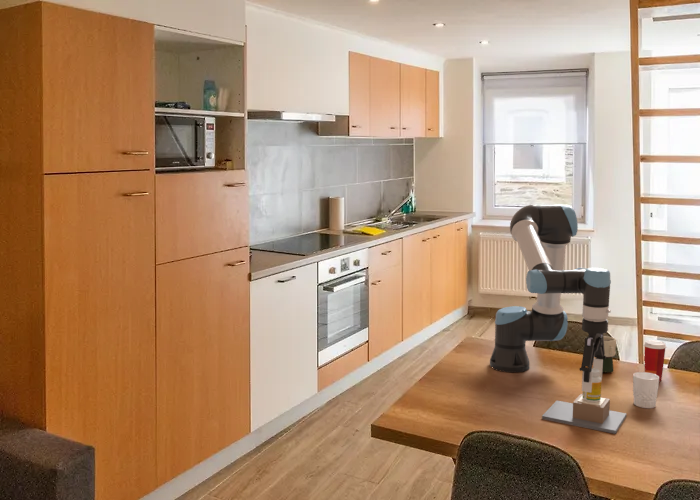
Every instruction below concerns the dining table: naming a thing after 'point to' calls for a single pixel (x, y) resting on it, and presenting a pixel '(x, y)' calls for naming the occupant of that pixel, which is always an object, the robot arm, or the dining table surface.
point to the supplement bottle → (594, 388)
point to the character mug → (609, 353)
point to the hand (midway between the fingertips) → (592, 385)
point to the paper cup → (654, 357)
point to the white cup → (645, 389)
